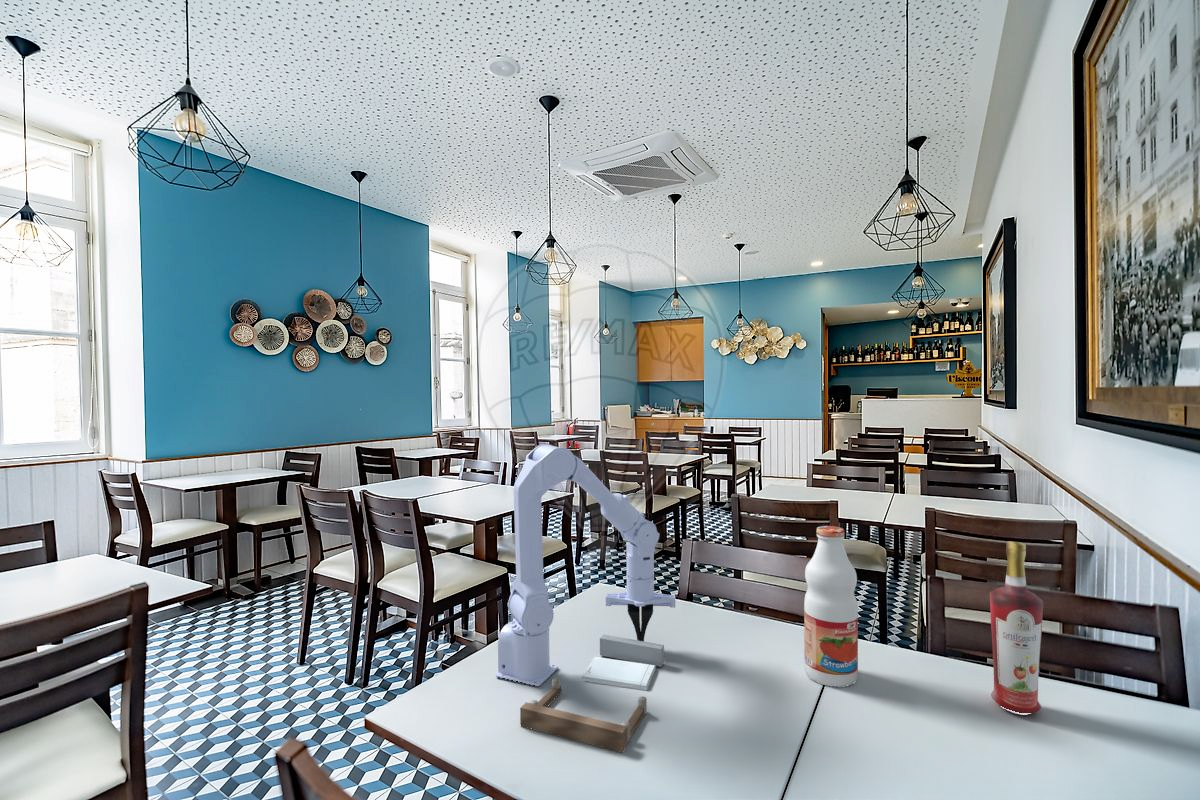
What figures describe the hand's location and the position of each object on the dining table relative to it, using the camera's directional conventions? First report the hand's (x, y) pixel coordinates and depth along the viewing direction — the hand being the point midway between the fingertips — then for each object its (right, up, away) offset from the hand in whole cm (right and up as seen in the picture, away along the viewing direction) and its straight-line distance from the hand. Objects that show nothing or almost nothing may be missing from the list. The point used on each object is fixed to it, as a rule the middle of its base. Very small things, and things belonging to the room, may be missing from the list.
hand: (640, 639), depth 120 cm
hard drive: (-5, -3, -11) cm, 12 cm away
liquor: (+62, -2, -24) cm, 66 cm away
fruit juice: (+35, -2, -12) cm, 37 cm away
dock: (-11, -2, -25) cm, 27 cm away
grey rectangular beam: (-2, -2, -5) cm, 6 cm away
